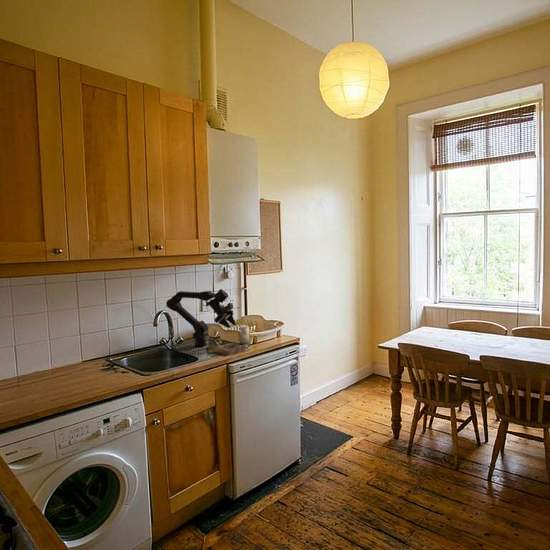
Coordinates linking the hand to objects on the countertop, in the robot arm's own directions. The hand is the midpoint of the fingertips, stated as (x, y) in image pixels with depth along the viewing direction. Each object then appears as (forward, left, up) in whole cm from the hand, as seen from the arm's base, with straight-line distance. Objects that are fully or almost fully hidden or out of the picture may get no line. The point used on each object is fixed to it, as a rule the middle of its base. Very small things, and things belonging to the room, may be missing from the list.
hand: (232, 326), depth 249 cm
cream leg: (+7, +2, -13) cm, 15 cm away
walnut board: (+3, -10, -13) cm, 17 cm away
